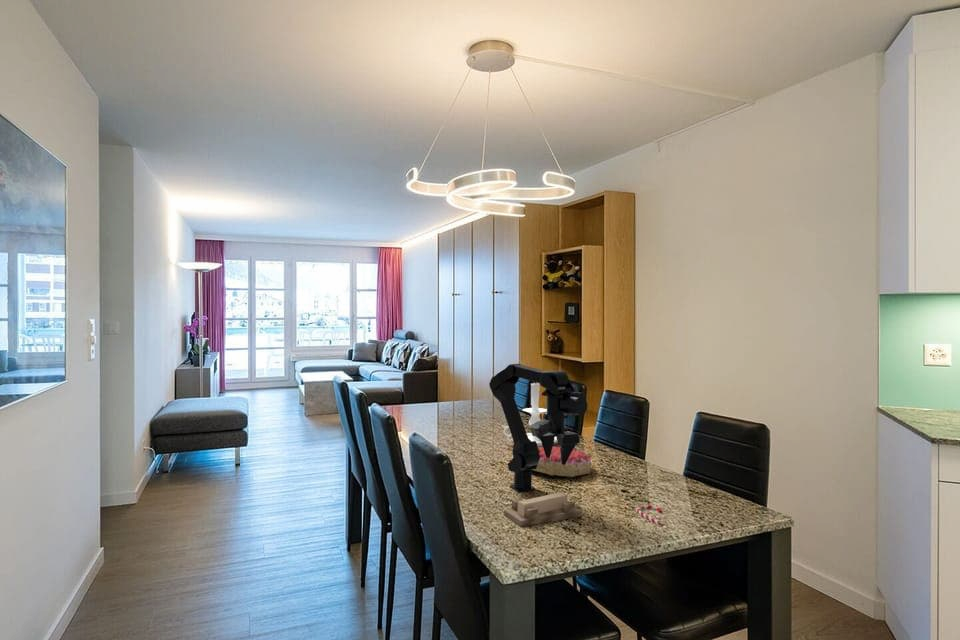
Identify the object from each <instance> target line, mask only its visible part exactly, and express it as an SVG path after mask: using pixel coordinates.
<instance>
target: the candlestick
mask: <svg viewBox="0 0 960 640" xmlns="http://www.w3.org/2000/svg"><path fill="white" fill-rule="evenodd" d="M540 386H541V385H540V384H539V383H537V382H533V383H530V405H531V407H529V408H528V407H525V408H523V409H522V411H523V412H526V413H529V414H530V415H531V416H530V418H529V420H528V426H530V425H532V424H534V423H536V422H538V421H540V420H542V419H541V418H540V415H541V414H544V413H547V408H542V407H541V408H540V407H539V399H540V389H541V387H540ZM502 428H504V429H503V434H504V435H505V436H506V438H507V441H510V442H514V441H513V438H512V435H511V433H510V434H508V433H506V429H509V426H508V425H502ZM526 433H527V436H528V438H529V439H530V440H531V441H536V443H537V446H538V447H543V445H542V442H541V440H540V439H539V438H537V437H536V436H532V433H531V432H526ZM510 438H511V439H510ZM556 442H558V441H557V437H555V438H554V442H553V444H554V443H556Z"/></svg>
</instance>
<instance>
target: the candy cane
mask: <svg viewBox="0 0 960 640" xmlns="http://www.w3.org/2000/svg"><path fill="white" fill-rule="evenodd" d="M643 510H655V511H657V513H659V514H660V513H661V514H662V513H663V510H662V508H660V507H659V506H655V505H650V504H648V505H640V506H638V507H636V509H635V511H636V513H637V515H639V516H640V517H642V518H643V519H645V520H646V521H648V522H651V523H653V524H655V525H657V526H660V527H661V526H663V522H661V521H660V520H657V519H655V518H653V517H651V516H649V515H648V514H646V513H644V512H643Z"/></svg>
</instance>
